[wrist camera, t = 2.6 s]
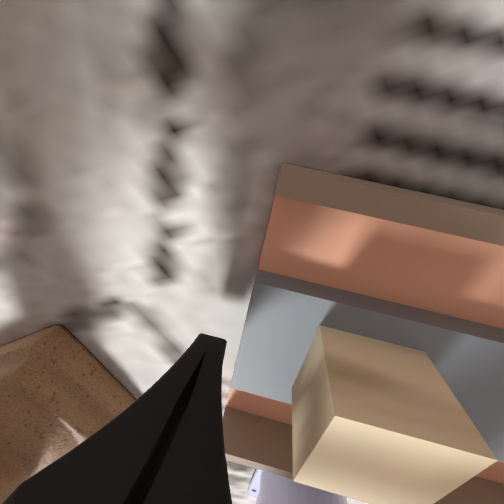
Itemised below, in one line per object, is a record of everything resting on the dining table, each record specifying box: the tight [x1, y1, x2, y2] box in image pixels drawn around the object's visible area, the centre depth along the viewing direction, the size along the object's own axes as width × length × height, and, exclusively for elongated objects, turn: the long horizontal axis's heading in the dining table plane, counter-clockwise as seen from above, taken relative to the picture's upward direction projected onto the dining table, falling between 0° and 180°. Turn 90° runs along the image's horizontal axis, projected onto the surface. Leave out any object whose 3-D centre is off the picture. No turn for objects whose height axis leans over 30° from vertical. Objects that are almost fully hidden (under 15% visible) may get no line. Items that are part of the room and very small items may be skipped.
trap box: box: [222, 163, 504, 504], centre depth 11 cm, size 18×23×3 cm
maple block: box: [292, 325, 498, 504], centre depth 10 cm, size 5×5×4 cm
